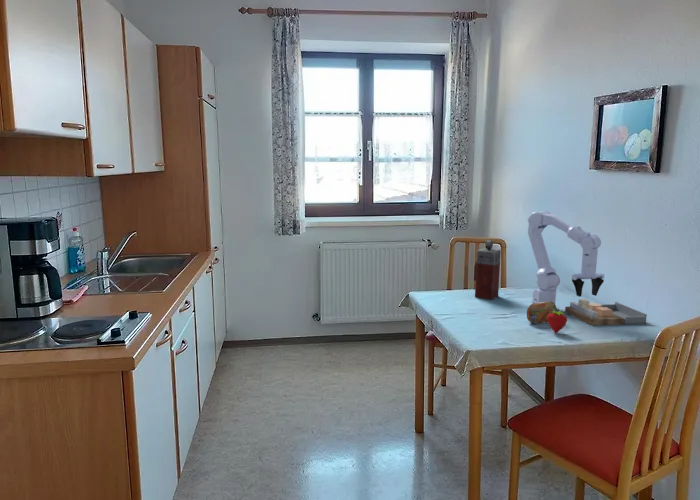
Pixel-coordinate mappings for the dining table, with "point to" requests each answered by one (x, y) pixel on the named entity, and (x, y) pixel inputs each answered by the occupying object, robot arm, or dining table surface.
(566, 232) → the robot arm
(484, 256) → the brown rectangular bottle
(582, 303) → the grey bar with block
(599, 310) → the tile
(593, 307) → the tile
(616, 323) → the board
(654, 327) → the dining table surface
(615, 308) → the box
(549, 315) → the strawberry
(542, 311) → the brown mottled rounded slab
